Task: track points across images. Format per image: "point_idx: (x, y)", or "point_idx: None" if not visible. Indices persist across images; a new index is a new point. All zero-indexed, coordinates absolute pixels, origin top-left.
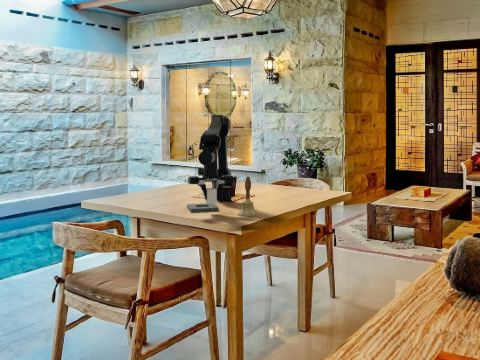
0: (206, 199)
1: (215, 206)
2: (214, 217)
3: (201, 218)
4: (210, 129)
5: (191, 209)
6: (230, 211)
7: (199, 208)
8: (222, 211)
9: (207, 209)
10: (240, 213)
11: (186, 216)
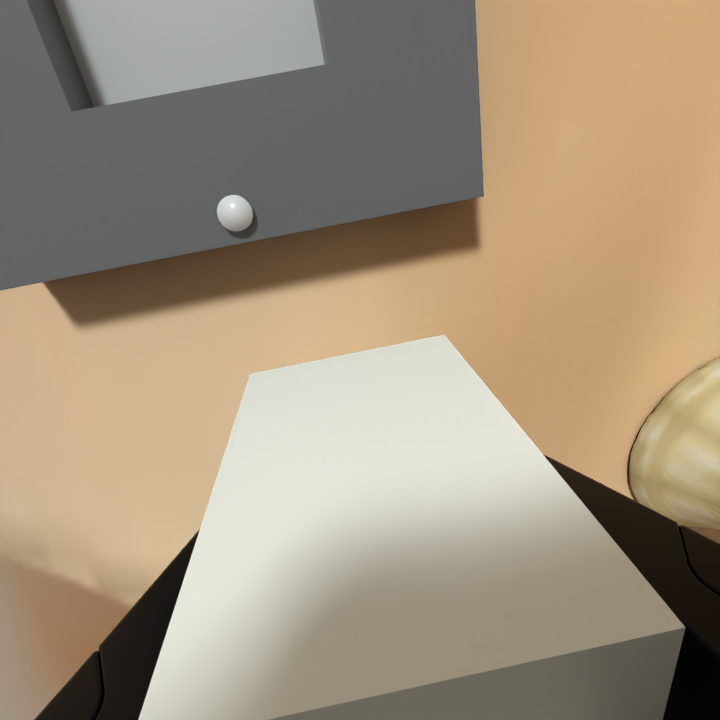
0: None
1: (443, 58)
2: None
3: None
4: None
5: (12, 285)
6: (618, 242)
7: (147, 256)
8: (513, 231)
9: (290, 231)
10: (657, 501)
11: (59, 514)
